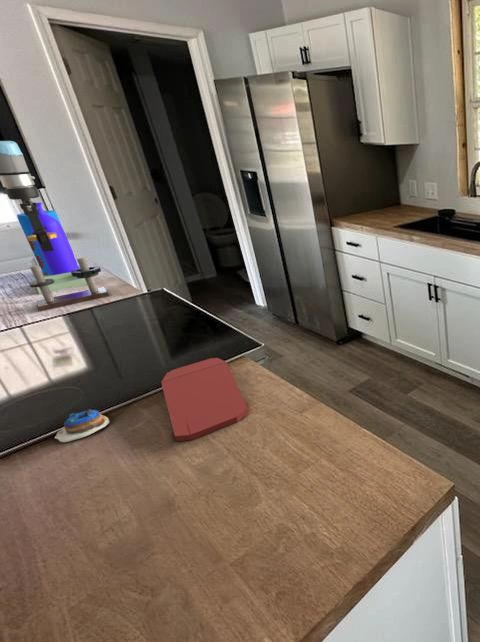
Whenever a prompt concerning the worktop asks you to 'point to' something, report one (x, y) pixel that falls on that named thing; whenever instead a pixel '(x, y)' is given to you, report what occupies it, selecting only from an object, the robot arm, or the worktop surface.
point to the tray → (63, 282)
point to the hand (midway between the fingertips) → (47, 249)
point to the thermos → (34, 246)
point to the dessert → (81, 425)
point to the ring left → (34, 238)
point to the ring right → (84, 273)
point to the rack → (68, 299)
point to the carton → (202, 398)
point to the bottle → (56, 246)
